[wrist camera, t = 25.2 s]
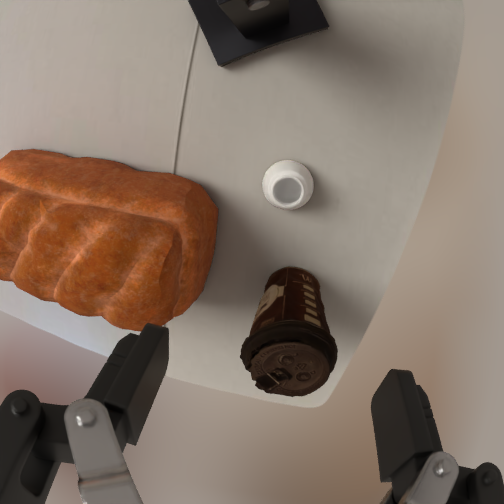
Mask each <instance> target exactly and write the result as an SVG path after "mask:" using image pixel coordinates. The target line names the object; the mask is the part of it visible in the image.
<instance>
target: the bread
mask: <svg viewBox="0 0 504 504" xmlns="http://www.w3.org/2000/svg"><path fill="white" fill-rule="evenodd" d="M217 220H218V208H217V207H216V205H215V204H214V203H213V201H212V200H211V198H210V197H209V196H208V194H207V193H206V191H205V190H204V188H203V187H202V186H201V185H200V184H197V183H195V182H193V181H191V180H189V179H186V178H183V177H180V176H177V175H174V174H171V173H161V172H146V171H136V170H134V169H132V168H130V167H129V166H127V165H125V164H122V163H119V162H115V161H110V160H104V159H97V158H91V157H82V158H70V157H68V156H65V155H63V154H61V153H55V152H49V151H42V150H36V149H29V150H13V151H11V152H9V153H8V154H7V155H6V156H4V157H3V158H2V159H1V160H0V280H3V281H13V282H14V283H15V285H16V287H17V288H19V289H21V290H23V291H25V292H27V293H29V294H31V295H33V296H35V297H37V298H39V299H41V300H44V301H51V302H58V303H59V304H60V306H62V307H64V308H66V309H68V310H70V311H72V312H74V313H76V314H78V315H82V316H89V317H90V316H102V317H103V318H104V319H106V320H107V321H108V322H109V323H110V324H112V325H114V326H116V327H119V328H121V329H129V330H134V331H142V330H143V328H144V326H145V325H146V324H147V323H151V324H155V325H159V326H162V325H164V324H165V323H167V322H168V321H170V320H171V319H173V317H176V316H179V315H181V314H183V313H184V312H185V311H186V310H187V309H188V308H189V307H190V306H191V305H192V303H193V302H194V301H195V300H196V299H197V298H198V297H199V295H200V294H201V292H202V291H203V288H204V284H205V282H206V279H207V276H208V273H209V270H210V266H211V262H212V259H213V255H214V250H215V243H216V231H217Z"/></svg>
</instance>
